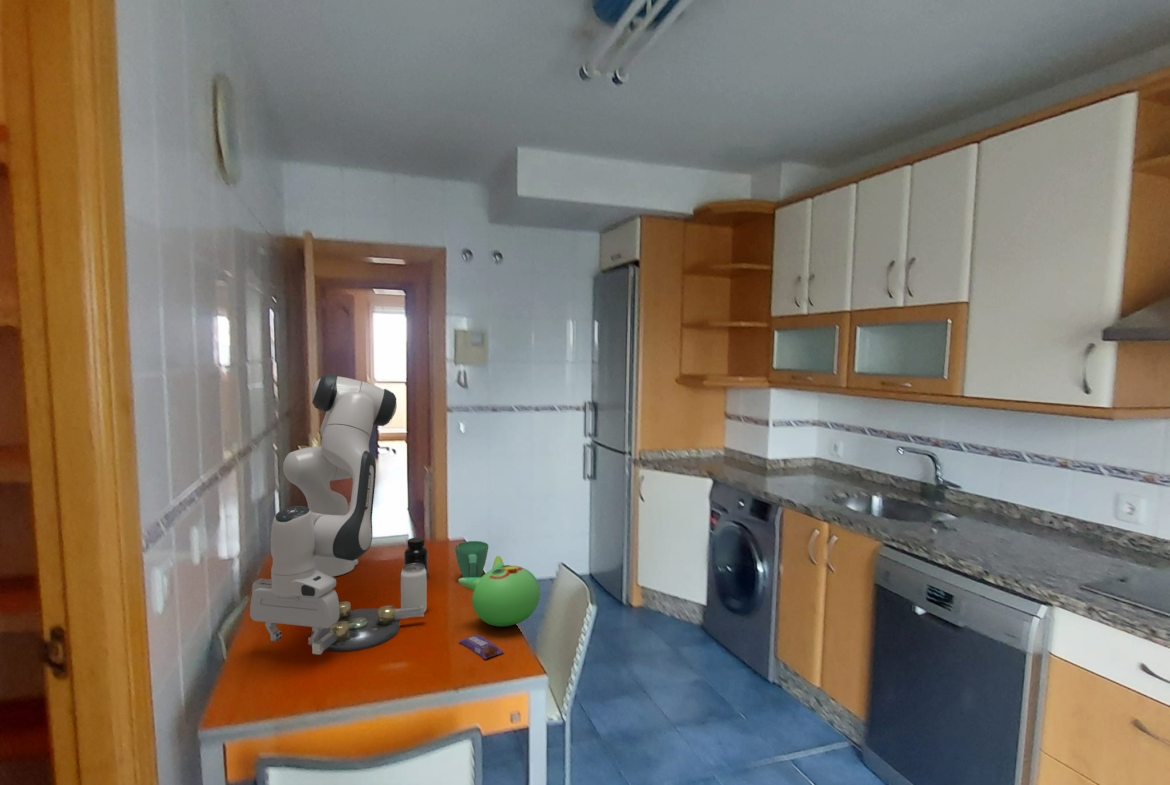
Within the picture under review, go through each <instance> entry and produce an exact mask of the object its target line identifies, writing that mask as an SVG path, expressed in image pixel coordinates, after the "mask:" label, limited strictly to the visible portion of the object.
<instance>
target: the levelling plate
mask: <svg viewBox="0 0 1170 785" xmlns="http://www.w3.org/2000/svg"><path fill="white" fill-rule="evenodd" d="M378 609H379V608H357V609H351V616H350V617H349V618H347V619H343V620H338V621H347V622H348V623H349V637H348V638H347V639H346V640H343V641H335V642H334V643H333V644H331V645H330V646H329V647H328V648H326V649H325V650H324V651H329V652H336V653H337V652H340V653H342V652H354V651H360V650H361V651H362V650H366V649H369V648H374V647H376V646H379V645H382V644H384V643H386V642H388V641H389V640H391V639H393V638H394V637H395V636H397V634H398V633H399V631H400V628H401V619H395V622H393V623H390V624H380V623H379V622H378ZM338 621H337V622H338ZM314 632H315V631H312V630H311V635H310V637H311V636H312V635H313V634H314ZM329 632H330V628H323V630H322V632H321V633H320V635H319V640H320V639H321V638H323V637H324V636H325V635H327V634H328V633H329Z"/></svg>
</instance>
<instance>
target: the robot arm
mask: <svg viewBox="0 0 1170 785" xmlns="http://www.w3.org/2000/svg"><path fill="white" fill-rule="evenodd" d="M311 390H312V391H311V400H312V402H311V403H312V405H313V407H314V408H315V409H317V410H319V411H320V412H322V413H325V414H324V418H323V420H322V423H321V426H320V428H319V429H320V430H319V431H320V432H319V433H320V436H321V441H320V446H309V447H308V446H307V447H303V448H300V449H297V450H294V451H291V452H288V454H287V455H286V457H285V458H284V461H283V464H282V471H283V474H284V477H285V478H286V479H287V481H288V482H290V484H293V485H294V486H296V487H297V488H298V489H299V490H300V491H301V493H302V494H303V495H304V497H305V499H306V503H307V506H306V505H305V506H304V505H295V506H291V507H285V508H284V509H281V510H279V511H278V512H277V513H276V514H275V515H274V517H273V520H272V524H271V532H270V554H271V556H272V565H271V567H270V568H271V569H270V573H271V574H270V576H271V577H270V578H269V579H268V578H258V579H257V580H255V581H253V584H252V587H251V591H252V594H251V598H250V607H249V608H250V609H249V617H250V618H251V619H252V621H253V622H261V623H262V622H263V623H265V625H264V626H265V628H266V630H267V631H268V633H269V635H270V641H271V642H279V641H281V639H282V635H283V634H282V630H279V629H278V626H277V624H279V625H280V624H284V625H291V626H300V627H311V632H312V631H315V632H314V634H313V635H312V636H311V635H310V636H309V637H308V638H307V639H308V646H312V644H313V643H314V642H317V641H318V640H319V635H320V633H321V632H322V630H323V628H330V627H331V626H333V625H334V624H335V623H336V622H337V621H338V619H339V602H340V601H339V596H338V593H337V592H336V590H335V589H334V588H336V587H337V579H336V578H335V577H337V576H342V575H344V574H347V573H349V572H351V571H352V570H354V569H355V567H356V565H358V564H359V558H361V557H362V556H363V555H364V554H365V553H366V552H367V551H368V550H370V547H371V546H372V541H373V512H374V511H373V508H374V499H375V488H376V476H377V475H376V474H377V463H376V462H377V461H376V458H375V456H374V454H372V453H371V452H370V439H371V435H372V432H373V426H376V427H383V426H386V425H388V424H389V423H390V421H391V420H392V419H393V418H394V416H395V415H396V411H397V408H398V407H397V397H396V395H395V393H394V392H392V391H391V390H389V389H387V388H384V389H383V388H382V387H379V386H376V385H374V384H372V383H369V382H366V381H363V380H362V381H360V380H358V379H354V378H350V377H344V376H338V374H333V373H324V374H323V375H321V376H320V378H318V379H317V381H316V382H315V383H314V385H313V387H312V389H311ZM345 479H352V486H351V487H352V489H351V496H350V497H351V498H350V504H349V505H350V507H349V510H348V506H349V505H348V500H347V498H346V497H345V495H343V494H341V493H339V492H337V491H334V490H333V489H331V483H330V482H331V481H339V480H345Z"/></svg>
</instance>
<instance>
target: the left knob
mask: <svg viewBox="0 0 1170 785" xmlns="http://www.w3.org/2000/svg"><path fill="white" fill-rule="evenodd" d="M377 609H378V622H379V623H380V624H390V623H393V622H395V619H400V620H401V619H409V618H417V617H419V618H422V617H425V612H424V605H420V606H418V607H409V608H401V607H400V608H396V606H394V605H383V606H381V607H379V608H377Z"/></svg>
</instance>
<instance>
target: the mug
mask: <svg viewBox="0 0 1170 785" xmlns="http://www.w3.org/2000/svg"><path fill="white" fill-rule="evenodd" d="M454 550H455V557H456V559H457V564H458V567H459V571H460V573H461V576H462V578H467V577H482V574H483V571H484V569H485V568H484V567H485V565H486V562H487V561H486V560H487V558H488V551H489V544H488V543H486V542H484V541H479V540H478V541H477V540H470V541H469V540H468V541H463V542H460V543H459V544H456V545H455V546H454Z"/></svg>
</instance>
